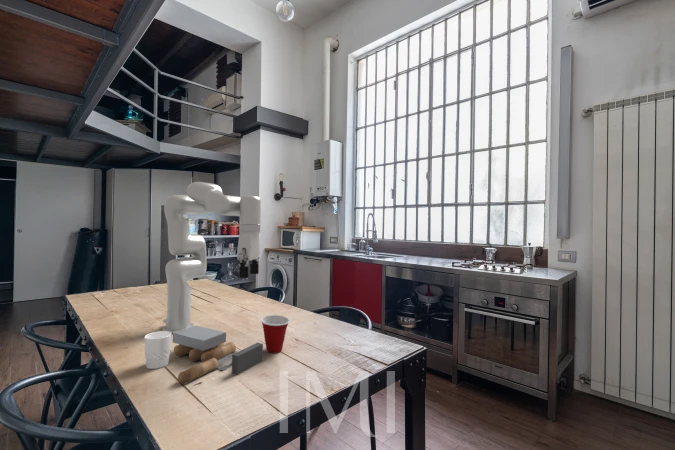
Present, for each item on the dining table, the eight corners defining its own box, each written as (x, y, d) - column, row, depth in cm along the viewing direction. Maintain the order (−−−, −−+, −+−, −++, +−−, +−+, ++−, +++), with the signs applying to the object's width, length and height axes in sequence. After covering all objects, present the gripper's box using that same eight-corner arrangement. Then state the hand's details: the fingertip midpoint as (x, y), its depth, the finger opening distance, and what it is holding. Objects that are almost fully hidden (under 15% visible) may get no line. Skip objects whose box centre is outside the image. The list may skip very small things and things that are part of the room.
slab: (172, 342, 117) (172, 332, 117) (195, 334, 126) (196, 325, 126) (203, 350, 109) (203, 340, 109) (225, 341, 118) (226, 332, 118)
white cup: (151, 372, 102) (152, 340, 102) (138, 366, 106) (139, 335, 106) (175, 363, 109) (176, 334, 109) (162, 358, 113) (163, 329, 113)
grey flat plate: (209, 366, 107) (209, 363, 107) (235, 354, 118) (235, 351, 118) (222, 370, 104) (222, 367, 104) (248, 357, 115) (248, 354, 115)
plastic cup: (274, 358, 114) (274, 324, 114) (254, 351, 121) (254, 319, 121) (295, 349, 123) (295, 318, 123) (275, 342, 129) (276, 313, 130)
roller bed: (173, 355, 115) (173, 344, 115) (201, 345, 126) (201, 334, 126) (209, 366, 107) (209, 354, 107) (235, 354, 117) (236, 343, 118)
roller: (177, 382, 96) (178, 370, 96) (209, 366, 107) (210, 356, 106) (185, 386, 94) (186, 374, 94) (217, 370, 105) (218, 359, 105)
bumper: (231, 373, 102) (232, 354, 102) (257, 359, 113) (257, 342, 113) (237, 375, 101) (237, 356, 101) (262, 361, 112) (262, 343, 112)
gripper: (249, 229, 128) (248, 272, 128) (229, 229, 111) (228, 279, 110) (267, 229, 127) (267, 272, 127) (250, 229, 110) (249, 279, 110)
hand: (249, 275), depth 119 cm, fingers open, 9 cm apart
